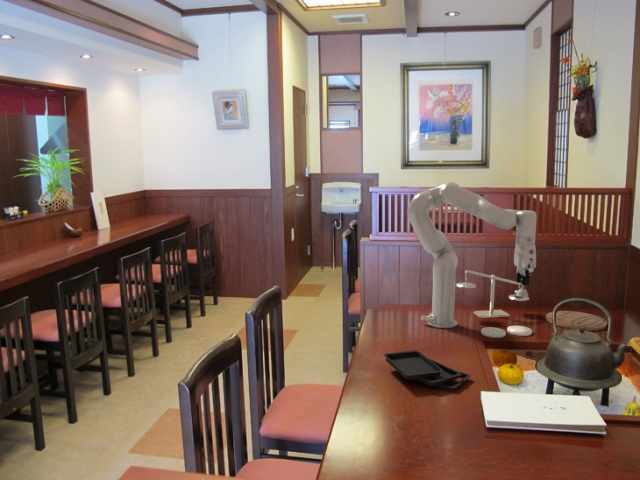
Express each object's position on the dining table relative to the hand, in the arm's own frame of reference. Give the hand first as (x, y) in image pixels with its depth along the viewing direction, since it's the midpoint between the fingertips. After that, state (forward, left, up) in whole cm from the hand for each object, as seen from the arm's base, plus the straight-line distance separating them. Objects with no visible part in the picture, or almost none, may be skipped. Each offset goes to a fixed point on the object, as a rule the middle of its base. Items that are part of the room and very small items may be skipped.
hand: (522, 283), depth 235 cm
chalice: (0, 0, -5) cm, 5 cm away
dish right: (0, 0, -21) cm, 21 cm away
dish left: (-12, 0, -21) cm, 25 cm away
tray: (-58, -38, -22) cm, 73 cm away
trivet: (+32, +8, -22) cm, 40 cm away
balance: (0, +25, -21) cm, 33 cm away
